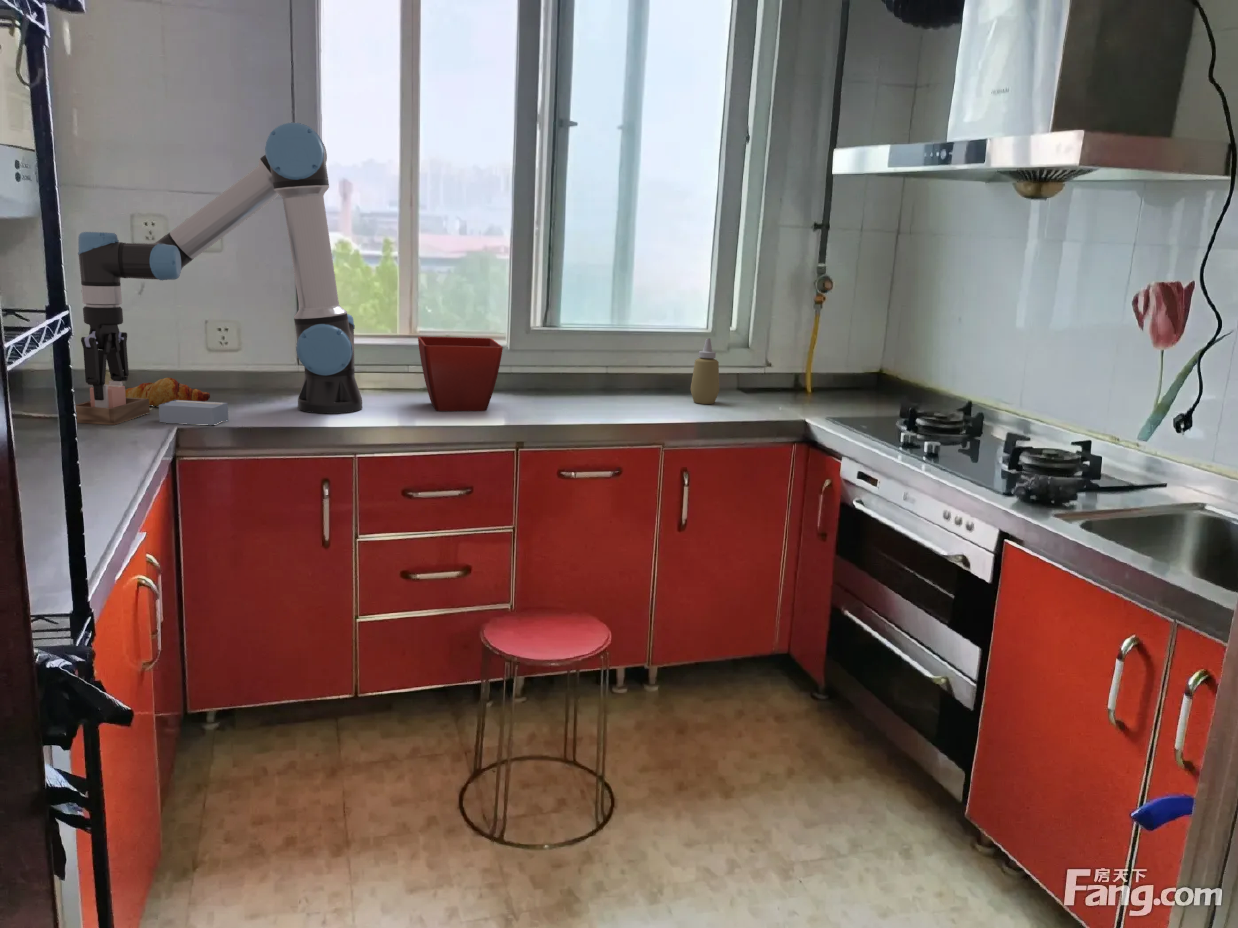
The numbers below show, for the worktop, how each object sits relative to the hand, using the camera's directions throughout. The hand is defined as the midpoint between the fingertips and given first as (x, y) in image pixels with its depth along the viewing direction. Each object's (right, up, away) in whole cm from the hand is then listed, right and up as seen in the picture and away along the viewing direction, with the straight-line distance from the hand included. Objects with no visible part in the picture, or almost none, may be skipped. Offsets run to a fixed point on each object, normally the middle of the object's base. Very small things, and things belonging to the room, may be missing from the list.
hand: (110, 412), depth 213 cm
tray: (0, -1, 0) cm, 1 cm away
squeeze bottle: (+136, +6, +59) cm, 148 cm away
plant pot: (+71, +3, +34) cm, 79 cm away
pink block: (0, 0, 0) cm, 1 cm away
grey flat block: (+18, -2, 0) cm, 19 cm away
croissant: (+3, +3, +19) cm, 20 cm away
